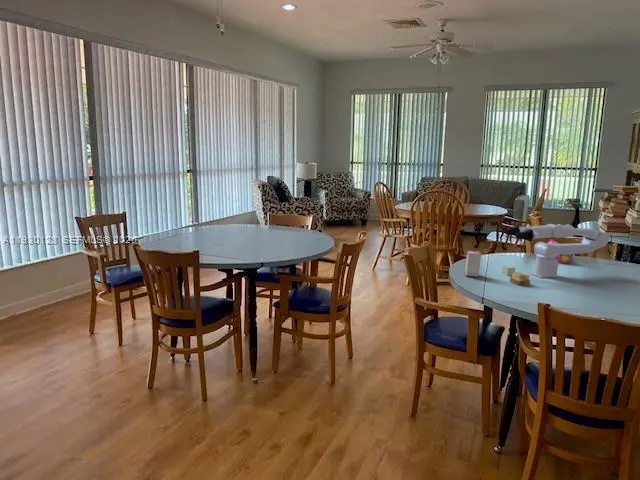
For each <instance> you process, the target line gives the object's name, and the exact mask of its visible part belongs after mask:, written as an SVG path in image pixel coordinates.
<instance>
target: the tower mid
mask: <svg viewBox="0 0 640 480" xmlns="http://www.w3.org/2000/svg"><path fill="white" fill-rule="evenodd" d="M511 277H512V278H513V279H516V280H518V281H527V280H530V274H528V273H525V272H523V271H519V272H518V271H517V272H516V271H515V272H514V273H512V276H511Z"/></svg>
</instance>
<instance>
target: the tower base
mask: <svg viewBox="0 0 640 480" xmlns="http://www.w3.org/2000/svg"><path fill="white" fill-rule="evenodd" d="M509 283H511V284H513V285H515V286H517V287H518V286H519V287H520V286H530V284H531V280H530V279H529V280H527V281H518V280H516V279H513V278H512V276H510V277H509Z"/></svg>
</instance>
